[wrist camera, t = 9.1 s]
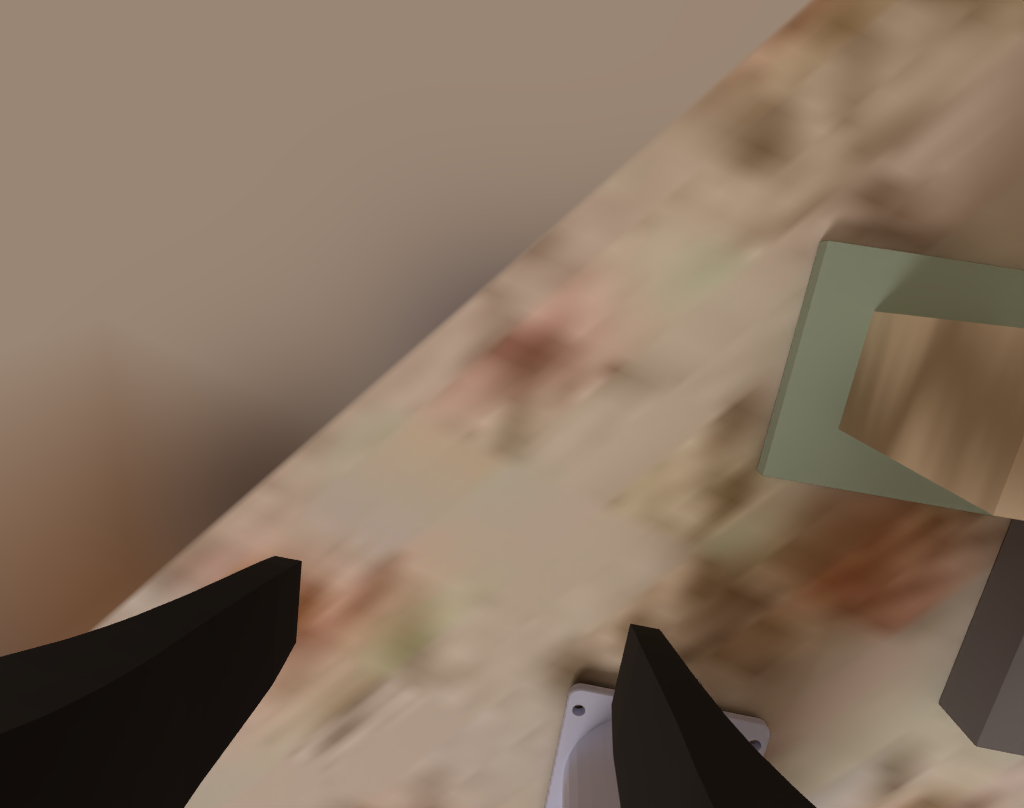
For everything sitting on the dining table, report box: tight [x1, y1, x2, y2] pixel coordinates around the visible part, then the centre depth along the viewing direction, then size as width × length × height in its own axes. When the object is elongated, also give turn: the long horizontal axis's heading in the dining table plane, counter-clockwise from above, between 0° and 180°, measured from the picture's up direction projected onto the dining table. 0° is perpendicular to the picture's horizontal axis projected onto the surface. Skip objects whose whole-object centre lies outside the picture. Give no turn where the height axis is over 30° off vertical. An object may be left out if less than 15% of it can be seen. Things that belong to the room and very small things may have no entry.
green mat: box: [757, 241, 1024, 517], centre depth 19 cm, size 8×8×1 cm
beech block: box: [838, 311, 1024, 521], centre depth 15 cm, size 4×4×7 cm
